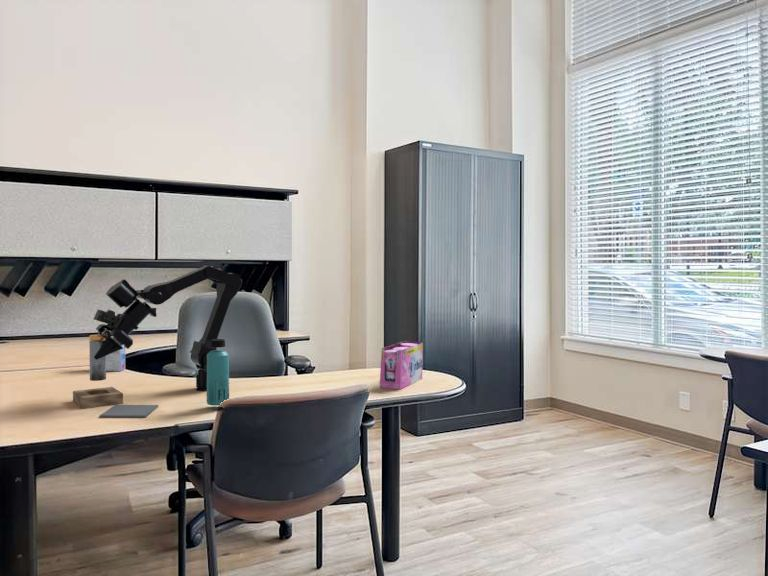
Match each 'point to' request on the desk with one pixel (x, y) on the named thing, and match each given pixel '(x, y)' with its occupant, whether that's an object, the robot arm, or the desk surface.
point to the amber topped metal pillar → (100, 364)
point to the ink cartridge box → (116, 360)
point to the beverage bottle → (217, 374)
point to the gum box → (401, 364)
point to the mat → (129, 411)
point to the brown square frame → (97, 397)
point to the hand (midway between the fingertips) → (92, 357)
